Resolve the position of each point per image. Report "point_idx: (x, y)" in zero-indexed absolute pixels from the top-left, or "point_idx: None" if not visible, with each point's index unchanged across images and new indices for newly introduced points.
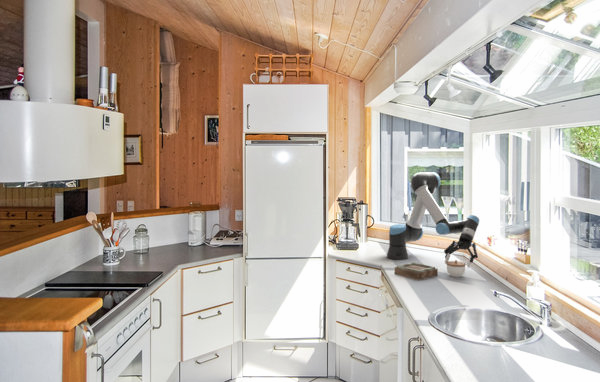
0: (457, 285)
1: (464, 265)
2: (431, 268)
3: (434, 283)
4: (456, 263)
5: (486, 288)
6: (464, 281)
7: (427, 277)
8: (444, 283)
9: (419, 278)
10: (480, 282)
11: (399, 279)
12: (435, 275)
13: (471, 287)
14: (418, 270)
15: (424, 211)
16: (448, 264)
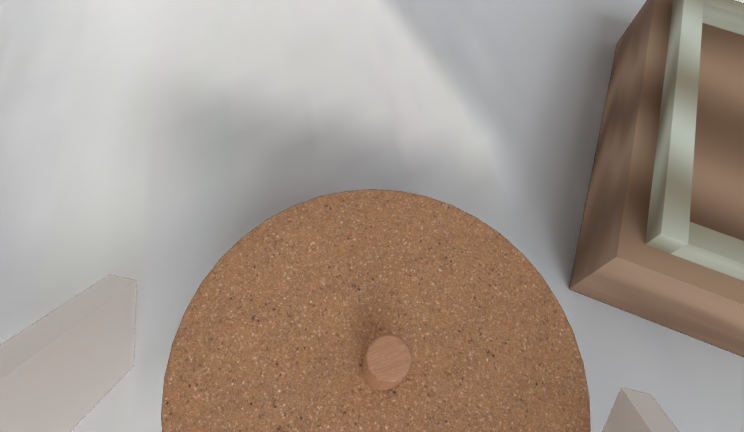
0: (279, 24)
1: (191, 313)
2: (663, 162)
3: (465, 10)
4: (357, 294)
5: (21, 33)
6: (227, 167)
7: (601, 133)
8: (393, 36)
9: (622, 42)
10: (43, 203)
11: None
12: (579, 248)
13: (157, 15)
14: (697, 2)
15: None
16: (490, 232)
